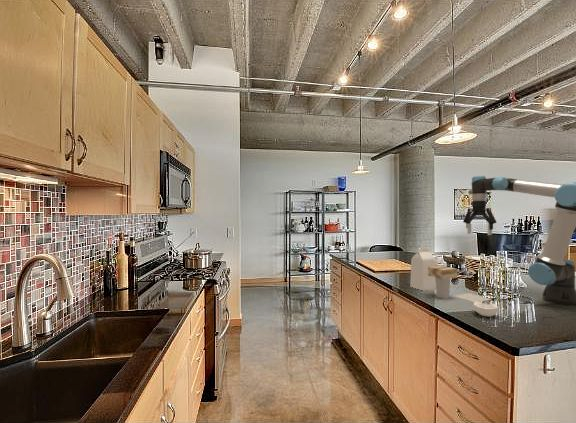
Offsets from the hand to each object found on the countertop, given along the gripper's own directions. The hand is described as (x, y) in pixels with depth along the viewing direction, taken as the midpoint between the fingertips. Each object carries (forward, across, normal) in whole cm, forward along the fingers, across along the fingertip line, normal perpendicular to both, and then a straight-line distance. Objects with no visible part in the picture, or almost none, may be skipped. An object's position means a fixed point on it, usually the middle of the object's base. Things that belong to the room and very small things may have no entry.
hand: (479, 234), depth 194 cm
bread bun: (+23, +5, -37) cm, 44 cm away
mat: (+35, +12, -23) cm, 44 cm away
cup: (+35, +5, -37) cm, 51 cm away
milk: (+35, -16, -30) cm, 48 cm away
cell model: (+35, +35, -44) cm, 66 cm away
